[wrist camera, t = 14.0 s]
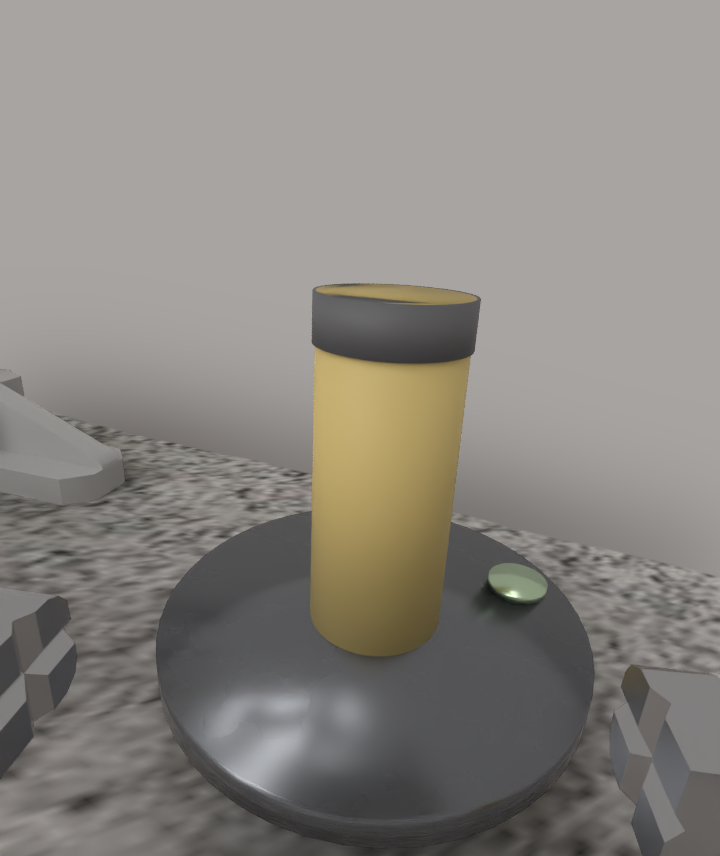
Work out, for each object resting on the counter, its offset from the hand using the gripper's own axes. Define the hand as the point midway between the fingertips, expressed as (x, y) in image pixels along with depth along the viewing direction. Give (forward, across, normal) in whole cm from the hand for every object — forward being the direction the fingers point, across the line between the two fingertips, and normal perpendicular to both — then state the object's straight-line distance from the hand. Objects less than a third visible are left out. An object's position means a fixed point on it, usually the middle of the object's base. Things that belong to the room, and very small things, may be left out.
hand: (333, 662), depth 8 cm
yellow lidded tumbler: (+11, 0, +8) cm, 14 cm away
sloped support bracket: (+27, +28, +12) cm, 41 cm away
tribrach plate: (+11, 0, +12) cm, 16 cm away
